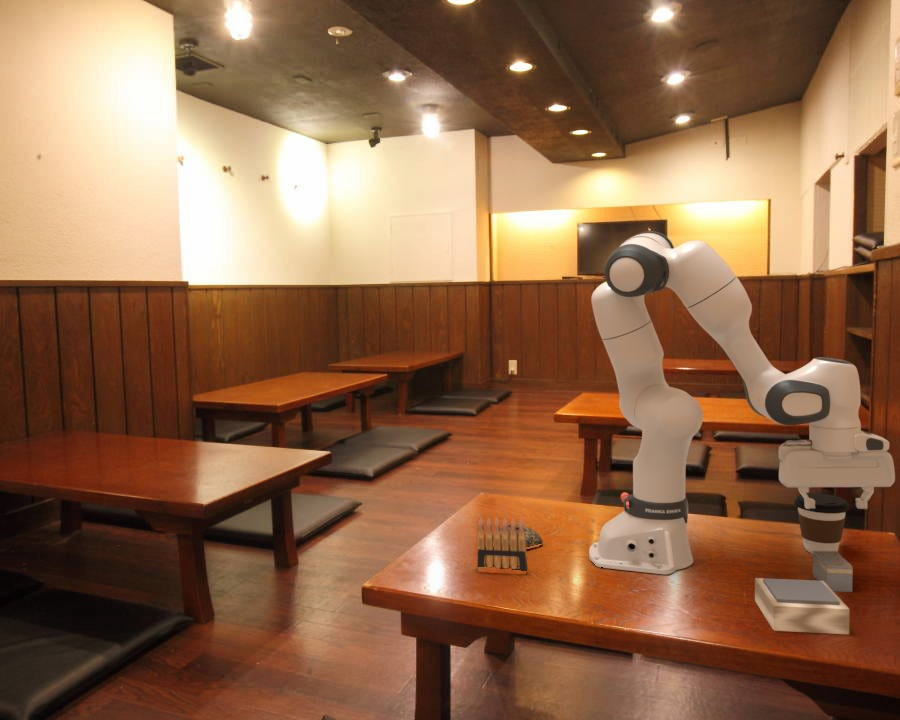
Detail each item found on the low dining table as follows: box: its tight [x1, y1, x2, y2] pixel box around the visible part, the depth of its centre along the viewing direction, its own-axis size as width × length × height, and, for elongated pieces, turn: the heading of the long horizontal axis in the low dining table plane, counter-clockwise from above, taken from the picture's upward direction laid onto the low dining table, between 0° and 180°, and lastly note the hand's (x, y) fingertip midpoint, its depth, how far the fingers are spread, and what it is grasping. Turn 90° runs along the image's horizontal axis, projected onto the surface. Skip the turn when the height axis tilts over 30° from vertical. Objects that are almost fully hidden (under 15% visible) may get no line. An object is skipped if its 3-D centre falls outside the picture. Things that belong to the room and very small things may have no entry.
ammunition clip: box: [476, 516, 528, 571], centre depth 146 cm, size 11×2×12 cm, turn 79°
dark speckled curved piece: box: [492, 523, 544, 548], centre depth 163 cm, size 13×12×5 cm
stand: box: [754, 577, 850, 635], centre depth 121 cm, size 12×12×5 cm
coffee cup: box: [794, 492, 850, 555], centre depth 152 cm, size 11×11×12 cm
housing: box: [812, 551, 854, 593], centre depth 135 cm, size 4×8×5 cm, turn 170°
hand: (835, 508), depth 134 cm, fingers open, 8 cm apart
